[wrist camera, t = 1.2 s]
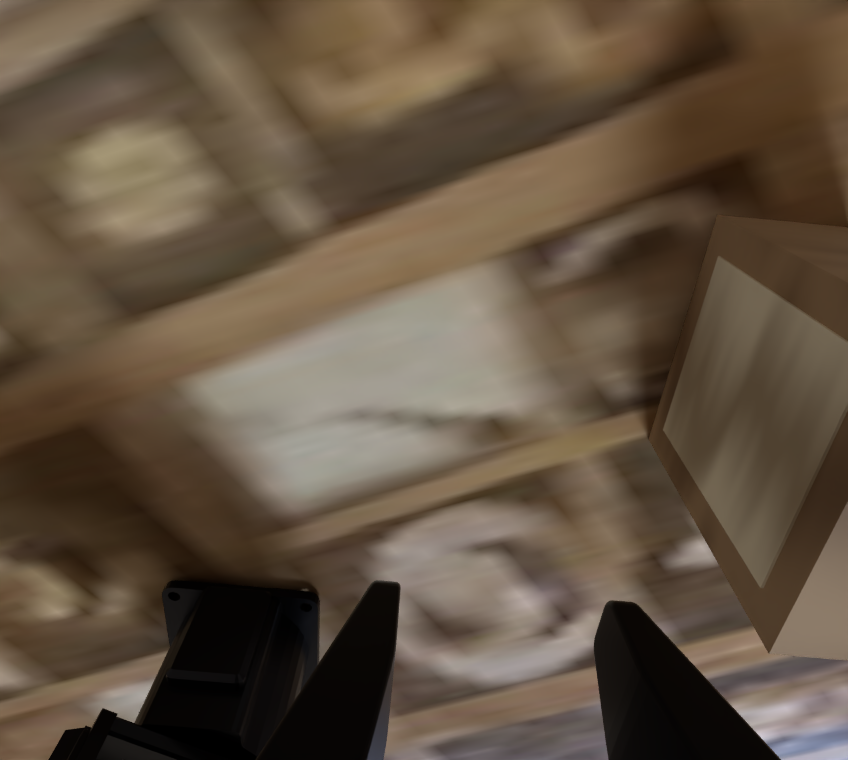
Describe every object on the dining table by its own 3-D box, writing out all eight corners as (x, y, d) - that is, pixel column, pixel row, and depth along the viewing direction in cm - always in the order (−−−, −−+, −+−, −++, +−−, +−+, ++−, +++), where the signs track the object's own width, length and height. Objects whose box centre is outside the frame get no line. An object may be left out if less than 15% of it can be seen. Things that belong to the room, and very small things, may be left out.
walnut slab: (757, 448, 22) (941, 668, 14) (646, 438, 22) (765, 653, 14) (848, 227, 18) (1171, 350, 10) (715, 214, 18) (932, 329, 10)
